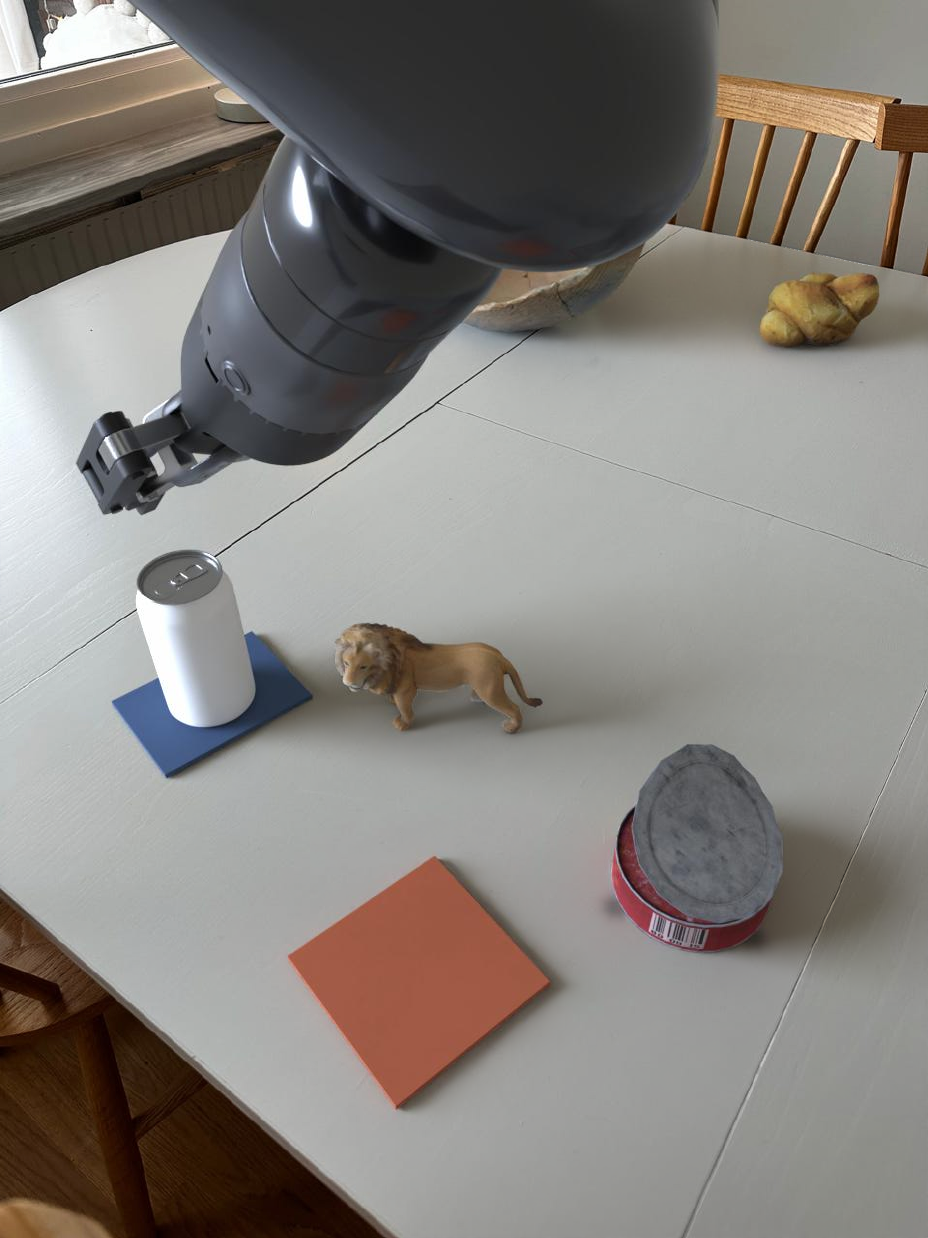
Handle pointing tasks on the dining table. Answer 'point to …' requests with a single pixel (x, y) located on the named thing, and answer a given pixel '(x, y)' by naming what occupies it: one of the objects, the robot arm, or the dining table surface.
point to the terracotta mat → (417, 978)
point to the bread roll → (818, 309)
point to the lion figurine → (425, 670)
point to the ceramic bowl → (548, 295)
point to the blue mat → (188, 744)
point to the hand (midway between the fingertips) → (214, 462)
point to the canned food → (698, 852)
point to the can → (195, 637)
